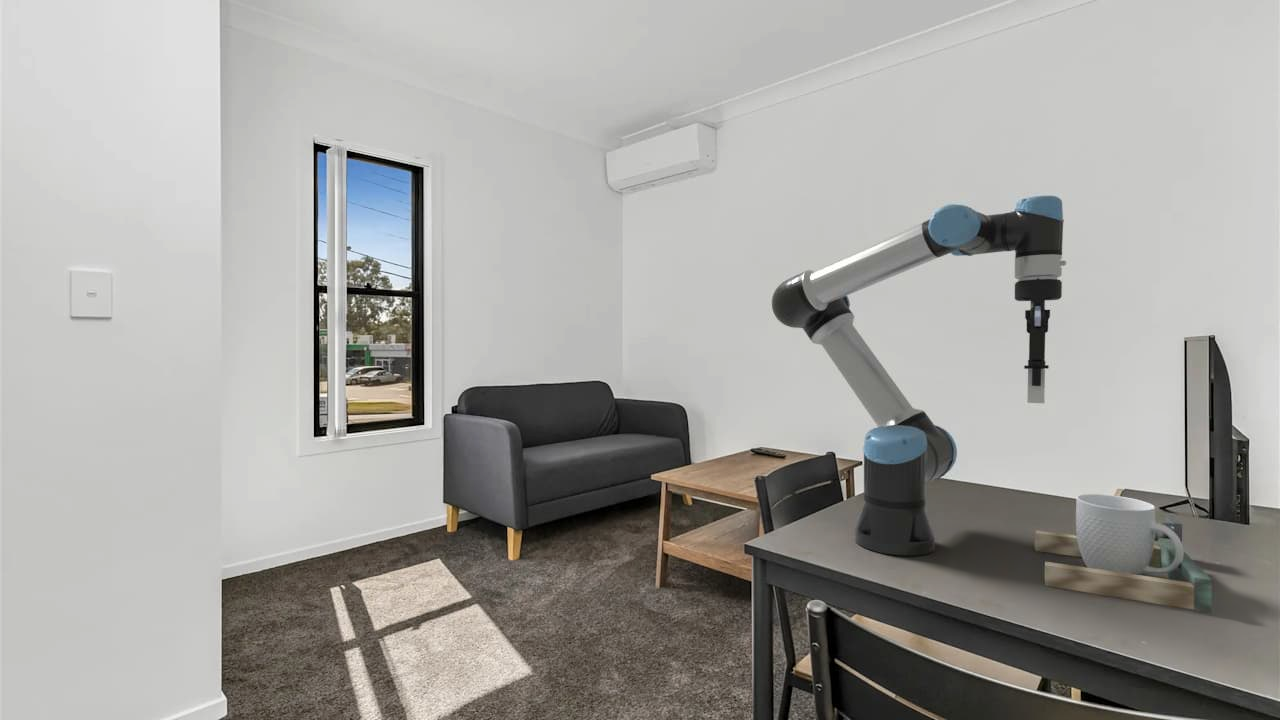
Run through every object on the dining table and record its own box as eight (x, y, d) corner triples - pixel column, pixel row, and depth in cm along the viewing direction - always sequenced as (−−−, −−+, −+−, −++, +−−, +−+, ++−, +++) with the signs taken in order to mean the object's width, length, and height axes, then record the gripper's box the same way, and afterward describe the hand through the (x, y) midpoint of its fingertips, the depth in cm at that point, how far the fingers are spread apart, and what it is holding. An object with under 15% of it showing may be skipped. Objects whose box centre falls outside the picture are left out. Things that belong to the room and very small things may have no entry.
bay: (1045, 585, 102) (1046, 556, 102) (1034, 547, 121) (1035, 522, 120) (1210, 612, 92) (1211, 580, 92) (1171, 566, 111) (1172, 539, 110)
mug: (1192, 585, 102) (1194, 508, 102) (1170, 601, 96) (1172, 520, 96) (1089, 558, 115) (1090, 490, 114) (1063, 571, 108) (1065, 499, 108)
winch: (1128, 558, 115) (1129, 519, 114) (1121, 548, 120) (1122, 510, 120) (1183, 565, 111) (1184, 525, 111) (1174, 555, 116) (1175, 516, 116)
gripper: (1063, 275, 108) (1060, 407, 109) (1060, 281, 119) (1058, 400, 120) (1014, 278, 112) (1012, 404, 113) (1015, 283, 123) (1013, 398, 124)
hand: (1035, 402), depth 116 cm, fingers closed
